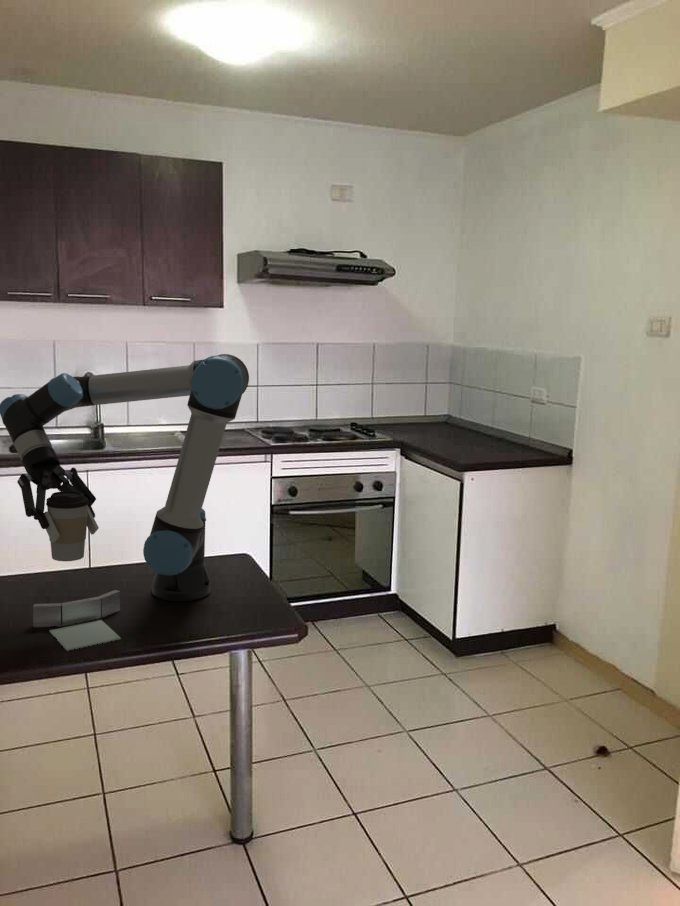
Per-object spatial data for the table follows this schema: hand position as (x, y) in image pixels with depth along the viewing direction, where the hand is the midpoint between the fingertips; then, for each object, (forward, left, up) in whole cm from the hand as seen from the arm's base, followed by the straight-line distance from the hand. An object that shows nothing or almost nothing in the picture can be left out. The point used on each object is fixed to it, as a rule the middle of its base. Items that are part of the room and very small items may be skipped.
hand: (75, 535), depth 171 cm
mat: (-1, +4, -22) cm, 23 cm away
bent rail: (-3, -6, -22) cm, 23 cm away
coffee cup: (+1, -3, -6) cm, 7 cm away
